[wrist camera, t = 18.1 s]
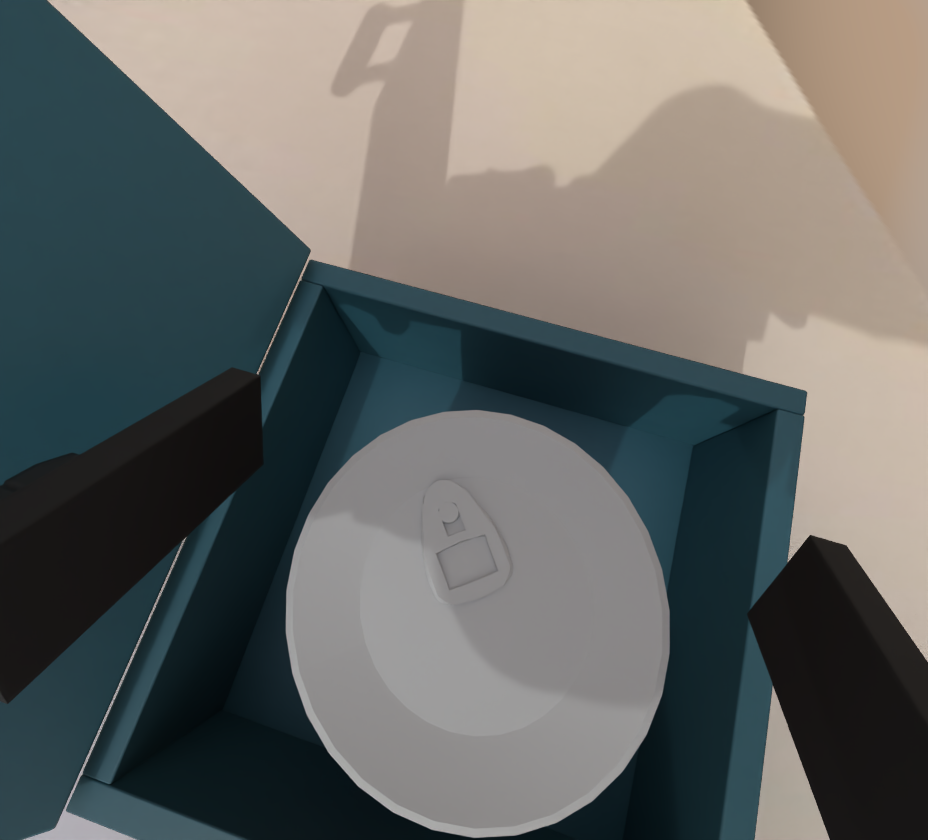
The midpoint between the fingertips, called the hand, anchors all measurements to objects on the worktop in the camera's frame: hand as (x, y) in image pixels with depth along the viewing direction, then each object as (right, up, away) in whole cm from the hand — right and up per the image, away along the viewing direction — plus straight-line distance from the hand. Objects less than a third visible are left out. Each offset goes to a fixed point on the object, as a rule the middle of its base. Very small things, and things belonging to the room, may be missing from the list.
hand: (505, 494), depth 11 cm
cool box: (-1, -5, +9) cm, 11 cm away
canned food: (-1, -5, +9) cm, 10 cm away
